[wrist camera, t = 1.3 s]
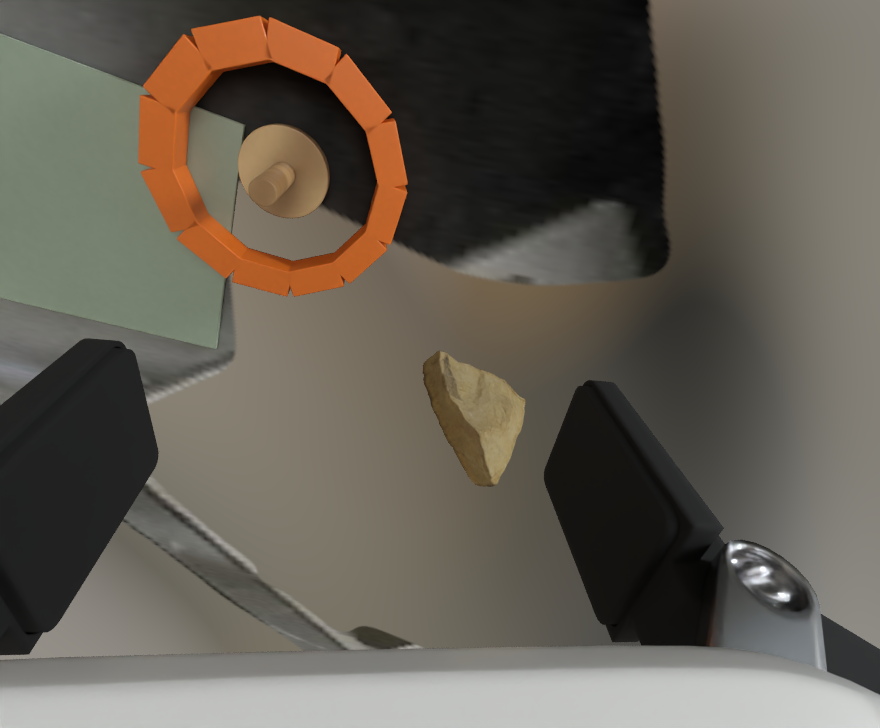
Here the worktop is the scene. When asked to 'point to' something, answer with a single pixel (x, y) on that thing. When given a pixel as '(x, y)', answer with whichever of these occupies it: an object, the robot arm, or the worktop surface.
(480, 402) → the rock
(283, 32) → the ring
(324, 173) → the wooden peg disc
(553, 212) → the worktop surface
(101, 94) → the mat
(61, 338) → the worktop surface
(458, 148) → the worktop surface
